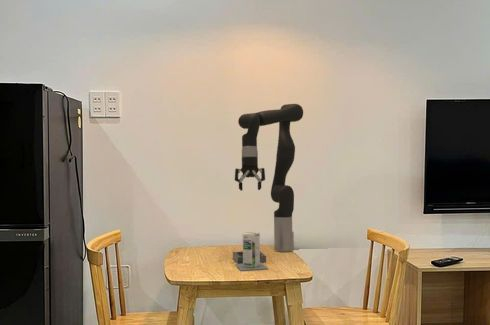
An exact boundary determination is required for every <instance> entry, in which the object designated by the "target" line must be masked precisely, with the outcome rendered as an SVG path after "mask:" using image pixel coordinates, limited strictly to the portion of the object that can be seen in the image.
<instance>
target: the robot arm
mask: <svg viewBox="0 0 490 325" xmlns="http://www.w3.org/2000/svg"><path fill="white" fill-rule="evenodd" d="M303 116H304V109H303V107H302V105H300V104H298V103H289V104H283V105H281V106H280V109H268V110H261V111H257V112H252V113H244V114H241V115H240V116H239V117H238V120H237V122H238V125H239V126H240V128H242V129H243V130H247V131H246V133H243V135H242V136H241V168H238V167H237V168H235V169H234V181H235V182H237V183H238V190H239V191H243V181H244V179H246V178H255V179H256V180H257V190H258V191H261V189H262V182H265V180H266V172H265V168H264V167H261V168H259V162H258V161H259V160H258V159H259V156H258V154H259V153H258V152H259V151H258V134H259V130H260V127H263V126H264V127H265V126H270V125H273V124H277V123H278V139H277V141H278V142H277V147H276V158H275V165H274V166H275V167H274V174H273V179H272V184H271V187H270V189H271V190H270V197H271V201H273V202H274V203H278V207H277V209H276V210H274V212H273V226H274V227H273V233H274V234H273V236H274V237H273V238H274V240H273V242H274V244H273V245H274V247H273V248H274V249H273V250H274V251H276V252H278V253H279V252H281V253H283V252H284V253H287V252H293V251H295V248H294V247H295V245H294V244H295V241H294V240H295V237H294V236H295V235H294V231H293V213H294V208H295V207H294V206H295V204H294V203H295V192H294V190H293V187H291V186H290V185H287V184H286V178H287V176H288V173H289V171H290V169H291V168H292V165H293V164H294V161H295V155H296V146H295V143H294V139H293V137H292V136H291V131H290V130H291V123H294V122H295V123H296V122H298V121H301V120H302V118H303ZM258 172H259V173H260V176H259V175H258ZM240 173H242V175H241V176H240V178H239V174H240ZM260 177H261V178H260Z"/></svg>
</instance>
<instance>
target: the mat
mask: <svg viewBox="0 0 490 325" xmlns="http://www.w3.org/2000/svg"><path fill="white" fill-rule="evenodd" d="M234 265H235V266H236V268H237V269H238V271H240V272H249V271H251V272H253V271H265V270H269V268H268V266H266V265H265V263H262V262H261V263H260V265H259V266H257V267H255V268H252V267H243V264H237V263H235V264H234Z"/></svg>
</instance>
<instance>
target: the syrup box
mask: <svg viewBox="0 0 490 325" xmlns="http://www.w3.org/2000/svg"><path fill="white" fill-rule="evenodd" d="M260 238H261V236H260V232H256V231H255V232H252V231H246V232H244V233H242V252H243V267H252V268H255V267H257V266H259V265H260V251H261V250H260V249H261V247H260V241H261V240H260Z"/></svg>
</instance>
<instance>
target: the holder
mask: <svg viewBox="0 0 490 325" xmlns="http://www.w3.org/2000/svg"><path fill="white" fill-rule="evenodd" d="M232 259H233V260H234V261H235V264H243V251H232ZM261 262H262V263H263V264H265V263H266V264H267V255H266V254H264V253H263V252H262V251H261V250H260V263H261Z"/></svg>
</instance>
